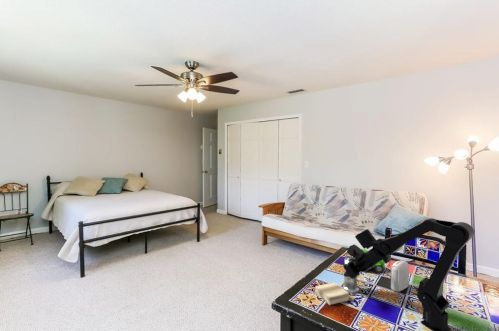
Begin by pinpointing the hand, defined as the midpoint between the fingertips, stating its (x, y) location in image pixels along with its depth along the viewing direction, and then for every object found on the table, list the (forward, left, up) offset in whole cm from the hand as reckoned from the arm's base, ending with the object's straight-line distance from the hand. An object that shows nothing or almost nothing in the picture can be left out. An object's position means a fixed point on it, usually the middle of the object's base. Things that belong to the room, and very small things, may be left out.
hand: (347, 273), depth 116 cm
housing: (-1, 0, -7) cm, 7 cm away
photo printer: (-8, -22, -7) cm, 25 cm away
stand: (-3, +12, -7) cm, 14 cm away
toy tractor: (+12, -24, -7) cm, 28 cm away
